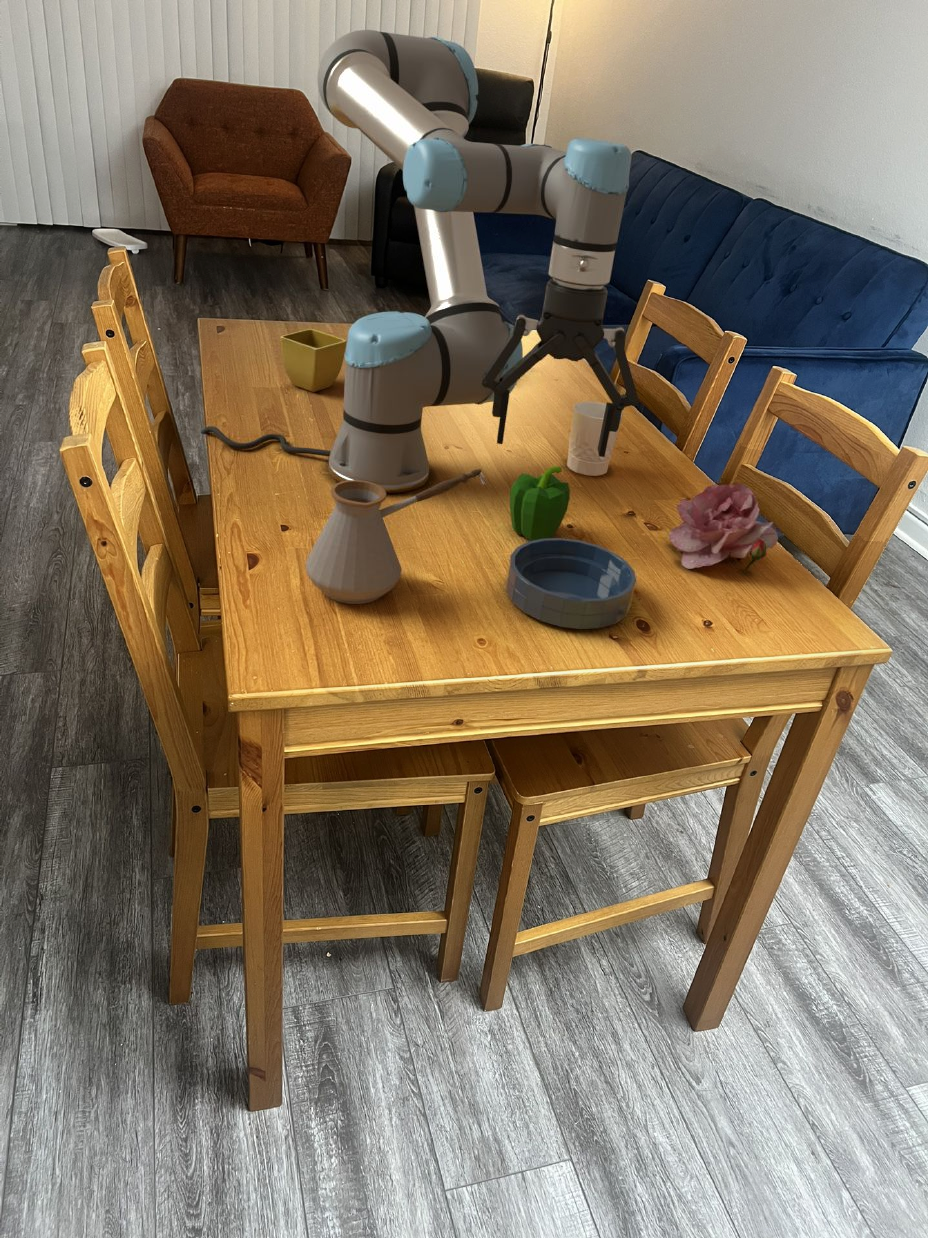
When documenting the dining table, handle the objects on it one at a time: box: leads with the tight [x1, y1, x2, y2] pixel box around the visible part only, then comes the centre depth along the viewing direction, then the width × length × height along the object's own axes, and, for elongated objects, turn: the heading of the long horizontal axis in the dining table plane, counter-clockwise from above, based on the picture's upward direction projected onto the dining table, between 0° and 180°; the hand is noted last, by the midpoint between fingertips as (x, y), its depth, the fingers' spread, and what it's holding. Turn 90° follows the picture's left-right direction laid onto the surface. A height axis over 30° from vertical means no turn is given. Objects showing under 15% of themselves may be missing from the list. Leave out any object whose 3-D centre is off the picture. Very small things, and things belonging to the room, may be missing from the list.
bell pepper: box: [509, 465, 571, 541], centre depth 130 cm, size 8×8×10 cm
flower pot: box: [279, 328, 347, 393], centre depth 171 cm, size 9×9×9 cm
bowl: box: [505, 537, 637, 630], centre depth 117 cm, size 16×16×4 cm
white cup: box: [566, 401, 624, 477], centre depth 153 cm, size 8×8×10 cm
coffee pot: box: [305, 468, 487, 605], centre depth 112 cm, size 21×12×15 cm, turn 110°
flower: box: [668, 483, 779, 573], centre depth 130 cm, size 15×15×10 cm
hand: (550, 446), depth 126 cm, fingers open, 13 cm apart
